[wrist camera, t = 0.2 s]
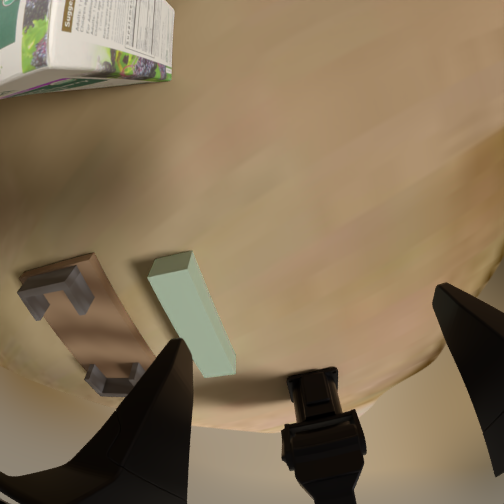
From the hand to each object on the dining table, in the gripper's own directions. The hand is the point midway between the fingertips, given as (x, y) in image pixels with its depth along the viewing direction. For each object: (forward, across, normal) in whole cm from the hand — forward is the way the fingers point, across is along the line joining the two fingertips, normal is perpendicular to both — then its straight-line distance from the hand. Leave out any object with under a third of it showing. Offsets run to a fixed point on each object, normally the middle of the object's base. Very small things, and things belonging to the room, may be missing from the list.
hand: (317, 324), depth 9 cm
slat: (+15, +9, +11) cm, 21 cm away
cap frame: (+14, +22, +11) cm, 29 cm away
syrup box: (+14, +7, -13) cm, 21 cm away
